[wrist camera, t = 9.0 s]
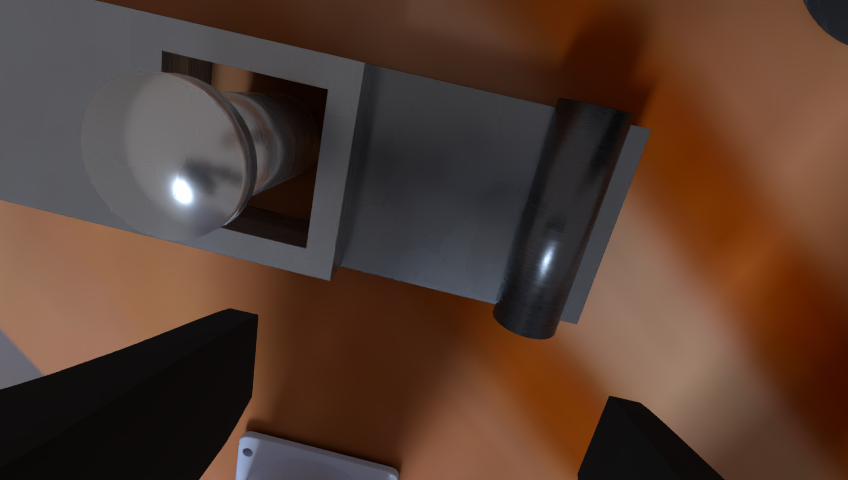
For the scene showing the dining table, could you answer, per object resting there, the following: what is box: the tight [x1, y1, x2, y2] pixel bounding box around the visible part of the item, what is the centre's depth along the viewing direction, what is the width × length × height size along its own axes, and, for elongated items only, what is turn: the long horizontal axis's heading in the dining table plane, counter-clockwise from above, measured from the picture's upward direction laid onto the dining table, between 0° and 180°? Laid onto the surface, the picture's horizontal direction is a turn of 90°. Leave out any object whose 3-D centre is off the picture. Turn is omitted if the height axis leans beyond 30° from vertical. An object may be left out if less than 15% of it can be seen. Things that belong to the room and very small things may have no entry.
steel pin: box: [81, 71, 321, 241], centre depth 14 cm, size 4×4×7 cm
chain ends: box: [0, 0, 651, 339], centre depth 16 cm, size 8×26×3 cm, turn 78°
